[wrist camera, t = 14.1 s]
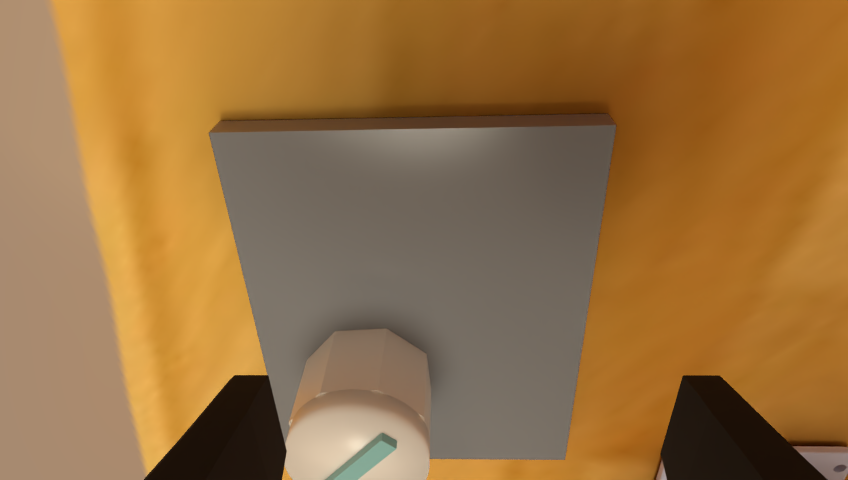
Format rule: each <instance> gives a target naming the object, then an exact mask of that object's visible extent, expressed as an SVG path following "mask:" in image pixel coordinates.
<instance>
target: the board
mask: <svg viewBox="0 0 848 480" xmlns="http://www.w3.org/2000/svg"><path fill="white" fill-rule="evenodd" d="M615 131H616V124H615V123H614V121H613V120H612V118H611V117H610V116H609V114H608V113H606V114H554V115H502V116H450V117H398V118H346V119H295V120H243V121H219V122H218V124H217V125H216V126H215V127H214V128H213V129H212V130H211V131H210V132H209V136H210V140H211V144H212V148H213V152H214V156H215V161H216V165H217V169H218V173H219V177H220V181H221V185H222V189H223V193H224V198H225V202H226V206H227V210H228V214H229V218H230V222H231V226H232V230H233V234H234V239H235V243H236V247H237V251H238V255H239V259H240V263H241V267H242V271H243V276H244V280H245V284H246V288H247V292H248V296H249V300H250V304H251V308H252V313H253V317H254V321H255V325H256V329H257V333H258V337H259V341H260V345H261V350H262V354H263V358H264V362H265V366H266V370H267V374H268V376H269V380H270V384H271V388H272V392H273V397H274V401H275V405H276V409H277V413H278V417H279V421H280V425H281V429H282V434H283V438H284V442H285V443H286V440H287V436H288V433H289V429H290V426H289V420H290V416H291V413H292V409H293V406H294V402H295V399H296V396H297V392H298V389H299V385H300V382H301V378H302V375H303V372H304V368H305V365H306V361H307V359H308V358H309V357H310V356H311V355H312V354H313V353H314V352H315V351H316V350H317V349H318V348H319V347H320V346H321V345H322V344H323V343H324V342H325V341H326V340H327V339H328V338H329V337H330V336H331V335H332V334H333V333H334V332H335V331H348V330H366V329H385V328H387V329H388V330H390V331H391V332H393V333H394V334H396V335H398V336H399V337H401V338H402V339H404V340H406V341H407V342H409V343H410V344H412V345H413V346H415V347H417V348H418V349H420V350H421V351H423V352H424V353H426V354H427V361H428V369H429V377H430V385H431V413H430V459H529V460H565V456H566V450H567V443H568V437H569V430H570V424H571V417H572V411H573V404H574V398H575V391H576V385H577V378H578V372H579V365H580V359H581V352H582V346H583V339H584V333H585V326H586V320H587V313H588V307H589V300H590V294H591V287H592V281H593V274H594V268H595V261H596V255H597V248H598V242H599V235H600V229H601V222H602V216H603V209H604V203H605V196H606V190H607V183H608V177H609V170H610V164H611V157H612V151H613V144H614V138H615Z"/></svg>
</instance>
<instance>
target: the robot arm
mask: <svg viewBox="0 0 848 480" xmlns="http://www.w3.org/2000/svg"><path fill="white" fill-rule="evenodd" d="M286 453H287V450H286V446H285V442H284V438H283V434H282V429H281V425H280V421H279V417H278V413H277V409H276V405H275V401H274V397H273V392H272V388H271V384H270V380H269V376H268V375H235V376H234V377H232V378H231V379H230V380H229V381H228V383H227V384H226V385H225V386H224V387H223V389H222V390H221V391H220V392H219V393H218V395H217V396H216V397H215V398H214V399H213V400H212V402H211V403H210V404H209V405H208V406H207V408H206V409H205V410H204V411H203V412H202V414H201V415H200V416H199V417H198V418H197V420H196V421H195V422H194V423H193V424H192V425H191V427H190V428H189V429H188V430H187V431H186V432H185V434H184V435H183V436H182V437H181V438H180V439H179V441H178V442H177V443H176V444H175V445H174V446H173V447H172V449H171V450H170V451H169V452H168V453H167V454H166V455H165V456H164V457H163V459H162V460H161V461H160V462H159V463H158V464H157V465H156V466H155V468H154V469H153V470H152V471H151V472H150V473H149V474H148V475H147V477H146V478H145V479H144V480H282V475H283V470H284V464H285V459H286ZM661 458H662V461H661V465H660V468H659V472H658V475H657V478H656V480H844V479H845V478H846V476H847V474H848V447H842V446H791V445H790V444H789V443H788V442H787V441H786V440H785V439H784V438H783V437H782V436H781V435H780V434H779V433H778V432H777V431H776V430H775V429H774V428H773V427H772V426H771V425H770V424H769V423H768V422H767V421H766V420H765V419H764V418H763V417H762V416H761V415H760V414H759V413H758V412H756V411H755V410H754V409H753V408H752V407H751V406H750V405H749V404H748V403H747V402H746V401H745V400H744V399H743V398H742V397H741V396H740V395H739V394H738V393H737V392H736V391H735V390H734V389H733V388H732V387H731V386H730V385H729V384H728V383H727V382H726V381H725V380H724V379H723V378H722V377H720V376H683V377H682V381H681V384H680V388H679V391H678V395H677V398H676V402H675V405H674V409H673V412H672V416H671V419H670V422H669V426H668V429H667V433H666V436H665V440H664V443H663V447H662V450H661Z"/></svg>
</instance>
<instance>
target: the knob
mask: <svg viewBox="0 0 848 480" xmlns="http://www.w3.org/2000/svg"><path fill="white" fill-rule="evenodd" d="M430 413H431V385H430V377H429V369H428V361H427V354H426V353H424V352H423V351H421V350H420V349H418V348H417V347H415V346H413V345H412V344H410V343H409V342H407V341H406V340H404V339H402V338H401V337H399V336H398V335H396V334H394V333H393V332H391V331H390V330H388V329H387V328H385V329H366V330H348V331H335V332H334V333H333V334H332V335H331V336H330V337H329V338H328V339H327V340H326V341H325V342H324V343H323V344H322V345H321V346H320V347H319V348H318V349H317V350H316V351H315V352H314V353H313V354H312V355H311V356H310V357H309V358H308V359H307V361H306V365H305V368H304V372H303V375H302V378H301V382H300V385H299V389H298V392H297V396H296V399H295V402H294V406H293V409H292V413H291V416H290V420H289V426H290V429H289V433H288V436H287V440H286V443H285V446H286V450H287V453H286V459H285V464H284V465H285V468H286V470H287V472H288V474H289V475H290V477H291V478H292V479H293V480H426V478H427V476H428V472H429V460H430Z"/></svg>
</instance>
